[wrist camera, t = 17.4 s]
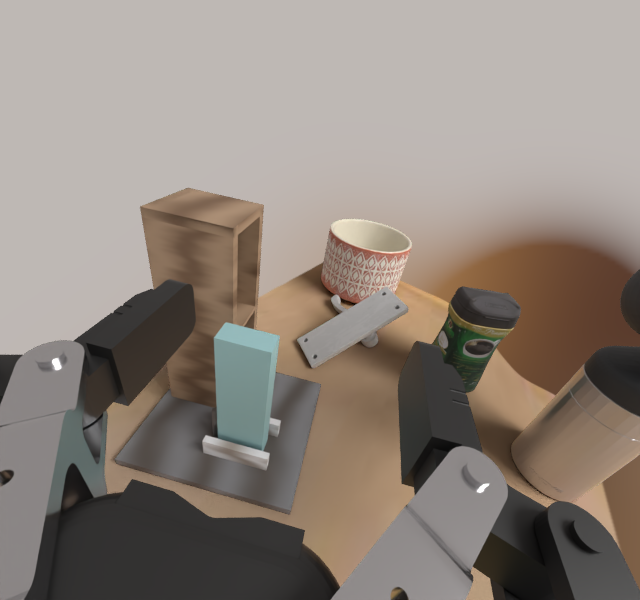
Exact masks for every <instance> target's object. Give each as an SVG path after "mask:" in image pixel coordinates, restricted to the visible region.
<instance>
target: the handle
mask: <svg viewBox="0 0 640 600" xmlns="http://www.w3.org/2000/svg"><path fill="white" fill-rule="evenodd" d="M331 301H332V304H333V306H334V308H335V309H336V311H337V312H338V313H340V314H339V315H337V316H336V317H334V318H332V319H330V320H329V321H327V322H325V323H324V324H322V325H320V326H319V327H317V328H315V329H314V330H312V331H310V332H308V333H307V334H305V335H303V336H302V337H300V338H298V339H297V341H298V343H299V345H300V347H301V348H302V350H303V352H304V354H305V356H306V358H307V360H308V362H309V363H310V365H311V367H312V368H316V367H318V366H319V365H321V364H323V363H324V362H326V361H328V360H329V359H331V358H333V357H334V356H336V355H338V354H339V353H341V352H343V351H344V350H346V349H348V348H349V347H351V346H353V345H354V344H356V343H357V342H359V341H361V342H362V344H363V345H364V346H366V347H373V346H375V345H376V344H377V343H378V336H377V333H376V331H377V330H379V329H381V328H382V327H384V326H386V325H387V324H389V323H391V322H392V321H394V320H396V319H397V318H399V317H400V316H402V315H404V314H405V313H407V312H408V307H407V306H406V305H405V304H404V303H403V302H402V301H401V300H400V299H399V298H398V297H397V296H396V295H395V294H394V293H393V292H392V291H391V290H390V289H389V288H388V287H385V288H383V289H381V290H380V291H378V292H376V293H374V294H373V295H371V296H369V297H368V298H366V299H364V300H363V301H361V302H359V303H358V304H356V305H354V306H352V307H351V308H349V309H345V308H344V307H343V306H341V305H340V303H341V300H340V297H339V296H338V295H337V294H336V295H334V296H333V297H332V298H331Z"/></svg>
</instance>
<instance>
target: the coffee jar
mask: <svg viewBox="0 0 640 600" xmlns="http://www.w3.org/2000/svg"><path fill="white" fill-rule="evenodd" d="M520 309H521V308H520V306H519V304H518V303H517V302H516V301H515V300H514V299H513V298H512V297H511V296H510V295H509V294H508V293H499V292H494V291H488V290H482V289H474V288H468V287H460V288H459V289H458V290H457V291H456V294H455V295H454V297H453V298H452V300H451V301H450V303H449V308H448V311H449V314H448V317H447V319H446V322H445V323H444V325H443V327H442V329H441V331H440V332H439V334H438V335H437V337H436V339H435V340H434V342H433V343H432V345H436V346H439V347H440V348H441V352H442V356H443V361H444V363H445V364H449V365H453V367H454V368H455V369H456V371H457V372H458V374H459V375H460V376H461V378H462V380H463V384H464V387H465V391H466V392H471V391H473V390H474V389H475V387H476V386H477V384H478V382H479V380H480V378H481V376H482V374H483V372H484V370H485V368H486V366H487V364H488V362H489V360H490V358H491V356H492V354H493V352H494V350H495V349H496V347H497V346H498V344H499V343H500V341H501V340H502V339H503V338H504V337H505V336H506V335H507V334H509V332H511V331H512V330H513V328H514V327H515V324H516V322H517V320H518V318H519V316H520Z"/></svg>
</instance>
